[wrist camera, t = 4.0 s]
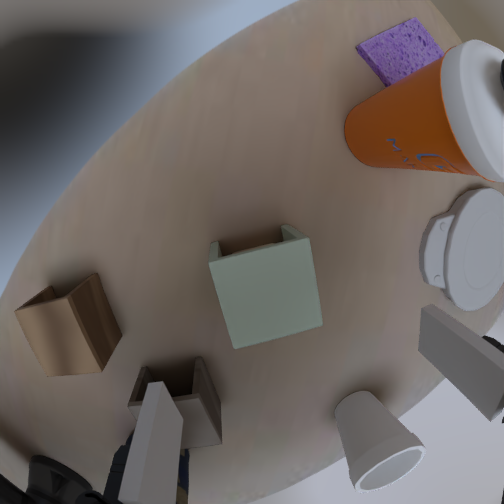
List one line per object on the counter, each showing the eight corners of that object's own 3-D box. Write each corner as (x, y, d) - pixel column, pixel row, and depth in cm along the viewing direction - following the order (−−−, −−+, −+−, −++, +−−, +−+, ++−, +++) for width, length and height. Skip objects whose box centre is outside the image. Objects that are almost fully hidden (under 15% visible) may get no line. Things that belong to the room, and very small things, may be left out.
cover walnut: (72, 344, 28) (47, 376, 21) (47, 287, 26) (14, 311, 19) (122, 335, 28) (102, 372, 22) (97, 272, 27) (67, 298, 20)
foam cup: (355, 374, 33) (401, 442, 21) (393, 390, 35) (437, 447, 23) (310, 421, 34) (338, 492, 22) (352, 432, 36) (383, 492, 24)
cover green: (230, 312, 29) (233, 349, 22) (211, 242, 27) (208, 262, 20) (301, 294, 29) (322, 325, 23) (287, 224, 28) (309, 237, 21)
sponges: (440, 62, 25) (448, 59, 23) (390, 98, 26) (399, 94, 24) (408, 21, 23) (416, 16, 22) (352, 49, 24) (359, 43, 22)
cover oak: (165, 411, 31) (158, 450, 25) (141, 367, 30) (127, 406, 23) (220, 402, 32) (222, 444, 25) (201, 356, 30) (198, 397, 23)
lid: (421, 178, 28) (437, 179, 25) (505, 191, 30) (518, 193, 27) (407, 316, 32) (420, 325, 29) (492, 295, 34) (503, 301, 31)
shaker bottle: (331, 90, 25) (473, 0, 5) (402, 101, 26) (547, 62, 6) (337, 175, 27) (512, 180, 8) (408, 177, 28) (566, 194, 8)
